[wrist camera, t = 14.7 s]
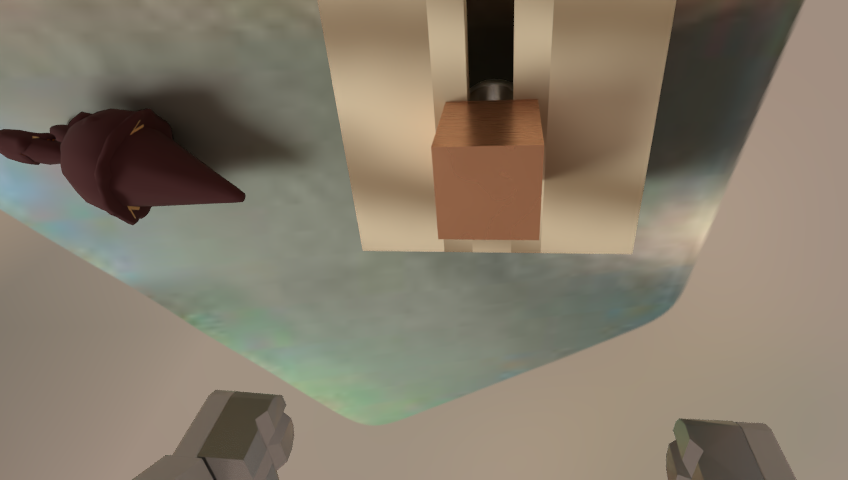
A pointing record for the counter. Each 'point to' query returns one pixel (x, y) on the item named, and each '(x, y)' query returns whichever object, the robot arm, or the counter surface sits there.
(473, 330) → the counter surface
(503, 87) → the wooden block
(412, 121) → the keyhole plate
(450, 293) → the counter surface
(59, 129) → the icecream
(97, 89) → the counter surface
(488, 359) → the counter surface
